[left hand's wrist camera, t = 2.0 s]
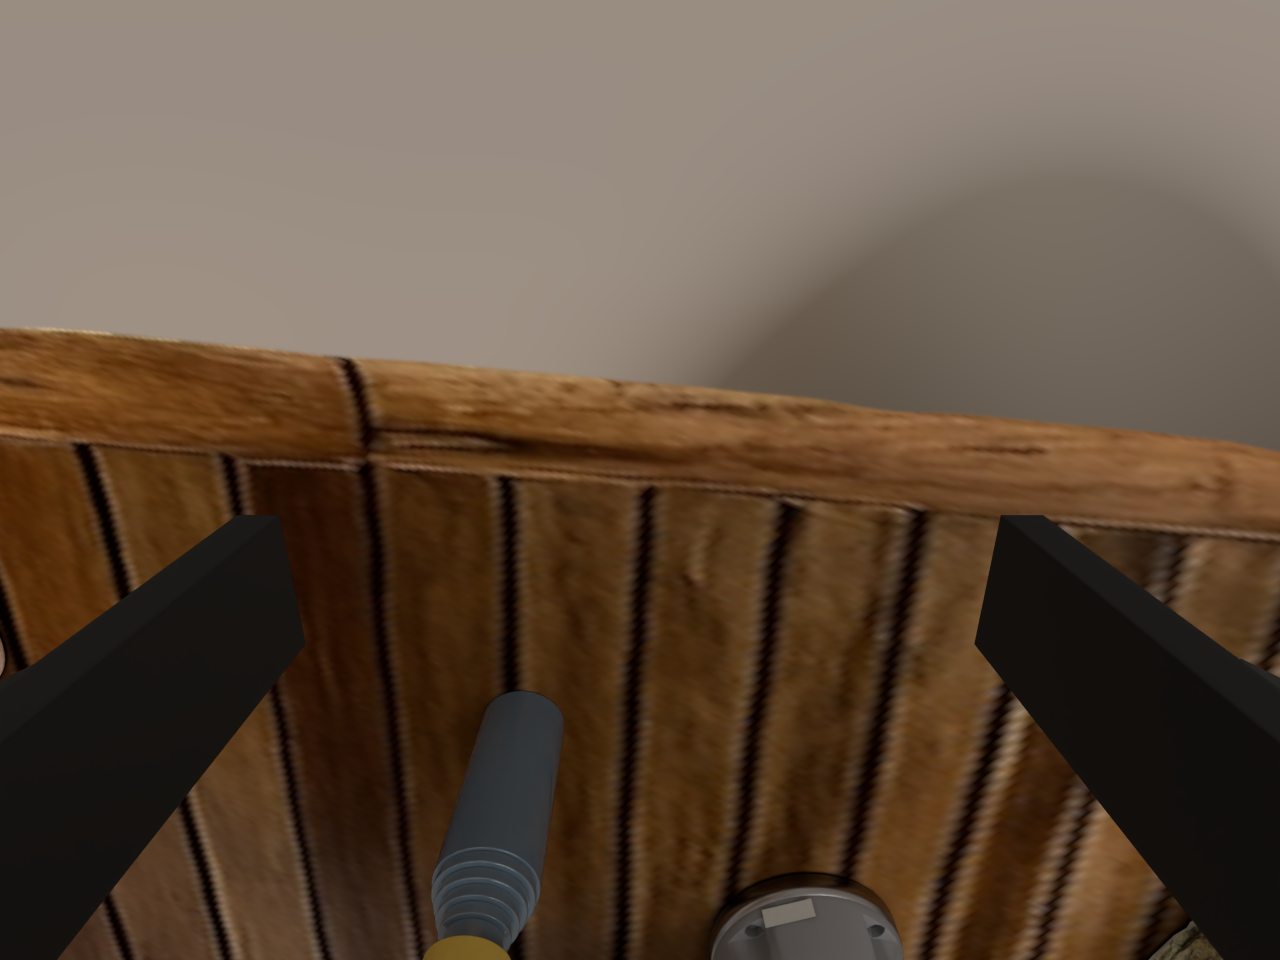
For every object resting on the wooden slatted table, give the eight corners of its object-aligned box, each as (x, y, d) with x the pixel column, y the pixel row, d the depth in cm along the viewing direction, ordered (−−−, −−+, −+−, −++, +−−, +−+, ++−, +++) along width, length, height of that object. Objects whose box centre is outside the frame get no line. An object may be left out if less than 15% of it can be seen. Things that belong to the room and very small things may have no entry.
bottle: (558, 687, 47) (512, 950, 30) (570, 753, 50) (533, 1034, 32) (475, 694, 48) (383, 960, 31) (490, 760, 50) (412, 1043, 33)
